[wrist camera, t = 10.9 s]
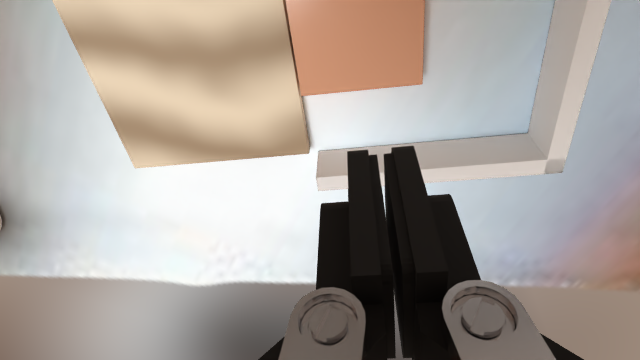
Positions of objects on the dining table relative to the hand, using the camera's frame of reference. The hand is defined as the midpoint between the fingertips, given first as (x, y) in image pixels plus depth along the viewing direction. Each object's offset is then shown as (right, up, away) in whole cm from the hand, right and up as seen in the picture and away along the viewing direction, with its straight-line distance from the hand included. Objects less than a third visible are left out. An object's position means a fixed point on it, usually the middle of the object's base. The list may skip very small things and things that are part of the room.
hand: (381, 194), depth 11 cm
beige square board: (-11, +10, +16) cm, 21 cm away
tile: (+1, +11, +15) cm, 19 cm away
